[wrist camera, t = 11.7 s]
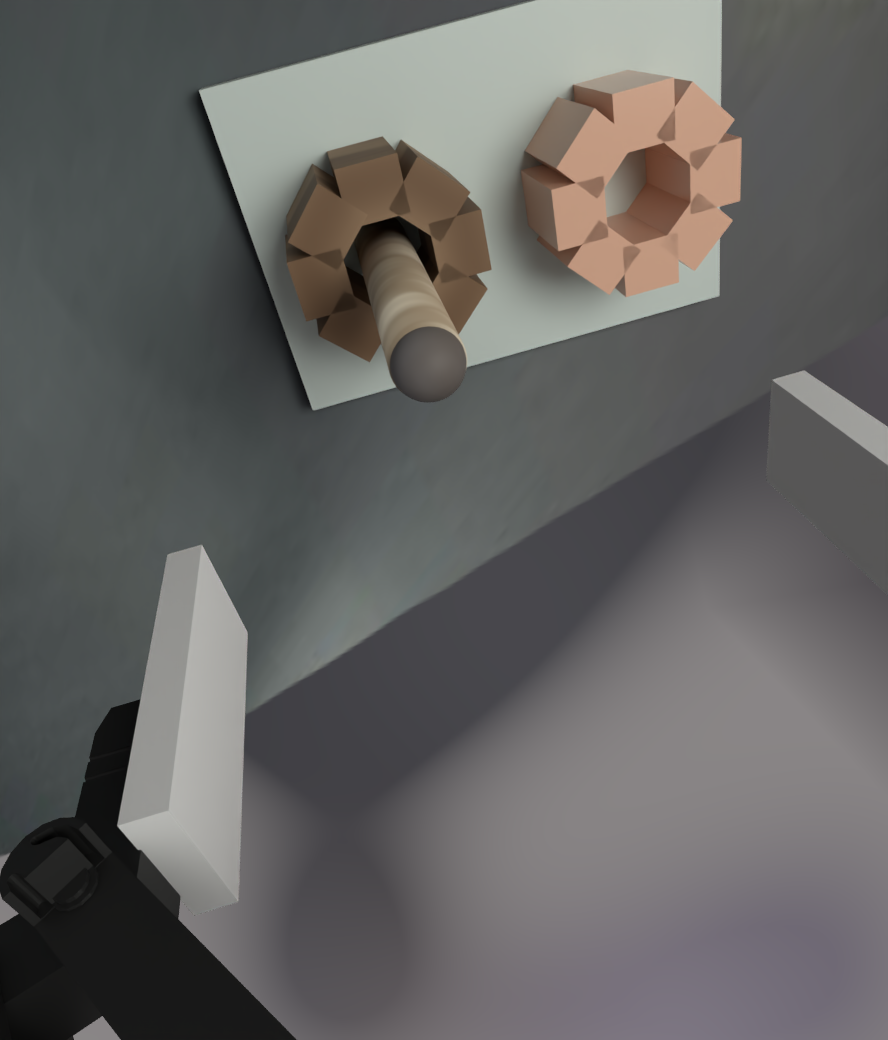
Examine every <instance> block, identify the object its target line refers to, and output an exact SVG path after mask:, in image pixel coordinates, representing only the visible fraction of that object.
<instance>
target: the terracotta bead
mask: <svg viewBox="0 0 888 1040" xmlns="http://www.w3.org/2000/svg"><path fill="white" fill-rule="evenodd" d="M573 90H574V100H575V102H573V101H569V100H566V99H563V98H559V97H557V99H556V100H555V102H554V103H553V105H552V107H551V108H550V110H549V112H548V113H547V115H546V117H545V118H544V120H543V122H542V123H541V125H540V126H539V128H538V130H537V131H536V133H535V135H534V136H533V138H532V140H531V141H530V143H529V145H528V146H527V148H526V149H525V152H527V153H528V154H530V155H531V156H532V157H534V158H535V159H536V160H538V161H539V162H540V163H542V165H538V166H534V167H531V168H527V169H523V170H521V177H522V184H523V192H524V199H525V206H526V213H527V220H528V226H529V227H530V228H531V229H533V230H534V231H535V232H536V233H537V234H539V237H538V239H537V241H538V242H540V243H541V244H542V245H543V246H544V247H545V248H546V249H548V250H549V251H550V252H551V253H552V254H553V255H555V256H556V257H557V258H558V259H559V260H560V261H561V262H563V263H564V264H565V265H566V266H567V267H569V268H570V269H572V270H573V271H575V272H576V273H578V274H579V275H581V276H582V277H584V278H585V279H586V280H588V281H589V282H591V283H592V284H594V285H595V286H597V287H598V288H600V289H601V290H603V291H604V292H606V293H607V294H609V295H610V294H611V292H612V291H613V290H614V288H615V289H617V290H618V291H619V292H620V293H621V294H623V295H624V296H625V297H629V296H632V295H636V294H639V293H643V292H646V291H650V290H654V289H657V288H661V287H664V286H668V285H671V284H675V283H678V282H679V262H681V263H682V264H684V265H686V266H687V267H689V268H690V269H692V270H694V271H695V270H696V269H697V267H698V266H699V265H700V264H701V262H702V261H703V260H704V258H705V257H706V256H707V254H708V253H709V252H710V250H711V249H712V248H713V246H714V245H715V244H716V242H717V241H718V240H719V238H720V237H721V236H722V234H723V233H724V232H725V230H726V229H727V228H728V226H729V225H730V224H731V222H732V221H733V220H732V219H730V218H729V217H728V216H727V215H726V214H724V213H723V212H722V211H721V210H719V209H718V208H717V207H720V206H723V205H727V204H730V203H734V202H738V201H740V182H741V139H742V138H741V137H738V136H734V135H730V134H726V133H725V132H726V131H727V130H728V128H729V127H730V125H731V124H732V123H733V121H734V120H735V119H734V118H733V117H731V116H730V115H729V114H728V113H727V112H726V111H725V110H724V109H723V108H721V107H720V106H719V105H718V104H717V103H716V102H715V101H714V100H713V99H712V98H710V97H709V96H708V95H707V94H706V93H705V92H704V91H703V90H702V89H700V88H699V87H698V86H697V85H696V84H695V83H694V82H693V81H687V80H681V79H675V78H674V77H669V76H663V75H657V74H651V73H645V72H639V71H633V70H625V71H621V72H617V73H614V74H610V75H606V76H603V77H599V78H595V79H592V80H588V81H584V82H581V83H577V84H573ZM643 148H645V165H646V184H645V185H644V187H643V188H642V190H641V191H640V192H639V194H638V195H637V197H636V198H635V200H634V201H633V203H632V204H631V206H630V207H629V208H628V210H627V211H626V212H624V213H621V214H617V215H613V216H610V217H607V215H606V202H605V189H604V188H605V186H606V185H607V183H608V182H609V180H610V179H611V177H612V176H613V174H614V173H615V171H616V170H617V168H618V167H619V165H620V164H621V162H622V161H623V159H624V158H625V156H626V155H627V153H629V152H633V151H636V150H640V149H643Z"/></svg>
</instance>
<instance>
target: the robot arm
mask: <svg viewBox="0 0 888 1040" xmlns="http://www.w3.org/2000/svg"><path fill="white" fill-rule="evenodd" d="M768 440H769V441H768V457H767V475H766V481H767V482H768V483H769V484H771V485H772V486H773V487H774V488H775V489H776V490H777V491H778V492H779V493H780V494H781V495H782V496H783V497H784V498H786V500H787V501H789V502H790V503H791V504H792V505H793V506H794V507H795V508H796V509H797V510H798V511H799V512H800V513H801V514H802V515H804V517H805V518H806V519H808V520H809V521H810V522H811V523H812V524H813V525H814V526H815V527H816V528H817V529H818V530H819V531H820V532H821V533H822V534H823V535H824V536H825V537H827V538H828V539H829V540H830V541H831V542H832V543H833V544H834V545H835V546H836V547H837V548H838V549H839V550H840V551H841V552H842V553H843V554H844V555H846V557H848V558H849V559H850V560H851V561H852V562H853V563H854V564H855V565H856V566H857V567H858V568H859V569H860V570H861V571H862V572H863V573H864V574H865V575H867V576H868V577H869V578H870V579H871V580H872V581H873V582H874V583H875V584H876V585H877V586H878V587H879V588H880V589H881V590H882V591H884V592H885V593H886V594H887V595H888V427H887V426H885V425H884V424H882V423H881V422H879V421H878V420H876V419H875V418H874V417H872V416H871V415H869V414H868V413H866V412H865V411H863V410H862V409H860V408H859V407H857V406H856V405H854V404H853V403H851V402H850V401H849V400H847V399H846V398H844V397H843V396H841V395H840V394H838V393H837V392H835V391H833V390H832V389H831V388H829V387H828V386H826V385H825V384H823V383H822V382H820V381H819V380H817V379H816V378H814V377H813V376H812V375H810V374H808V373H807V372H806V371H801V372H797V373H794V374H790V375H787V376H784V377H780V378H777V379H773V380H772V386H771V405H770V422H769V439H768ZM247 637H248V632H247V630H246V629H245V627H244V625H243V623H242V621H241V619H240V617H239V615H238V613H237V611H236V609H235V607H234V606H233V604H232V602H231V600H230V598H229V596H228V594H227V592H226V590H225V588H224V586H223V584H222V582H221V581H220V579H219V577H218V575H217V573H216V571H215V569H214V567H213V565H212V563H211V561H210V559H209V558H208V556H207V554H206V552H205V550H204V548H203V546H202V545H199V546H195V547H192V548H188V549H185V550H181V551H178V552H174V553H171V554H168V555H167V560H166V566H165V571H164V576H163V582H162V587H161V592H160V598H159V603H158V609H157V614H156V619H155V625H154V630H153V636H152V641H151V646H150V652H149V657H148V662H147V668H146V673H145V679H144V684H143V689H142V695H141V699H140V700H137V701H133V702H130V703H127V704H123V705H120V706H116V707H113V708H111V709H110V711H109V712H108V714H107V715H106V717H105V719H104V720H103V722H102V723H101V725H100V726H99V728H98V730H97V731H96V733H95V736H94V740H93V745H92V749H91V753H90V757H89V758H90V762H88V765H87V770H86V774H85V780H86V781H85V782H84V783H83V786H82V790H81V795H80V799H79V803H78V807H77V811H76V816H75V817H71V818H58V819H56V820H53V821H51V822H48V823H46V824H43V825H41V826H40V827H39V828H37V829H36V830H34V831H33V832H32V833H30V834H29V835H27V836H26V837H25V838H24V839H23V840H22V841H21V842H20V843H19V844H18V845H17V847H16V848H15V849H14V850H13V851H12V852H11V854H10V855H9V857H8V859H7V861H6V862H5V864H4V866H3V868H2V870H1V875H0V893H1V897H2V899H3V900H4V901H5V902H6V903H8V904H9V905H10V906H11V907H12V908H13V909H14V910H15V911H17V912H18V913H19V914H18V915H16V916H14V917H13V918H11V919H10V920H8V921H6V922H5V923H3V924H1V925H0V1040H74V1038H73V1035H75V1034H76V1033H77V1032H79V1031H80V1030H82V1029H83V1028H85V1027H86V1026H88V1025H89V1024H91V1023H92V1022H94V1021H95V1020H97V1019H98V1018H100V1017H101V1016H103V1017H104V1018H105V1020H106V1021H107V1022H108V1024H109V1025H110V1026H111V1027H112V1029H113V1030H114V1031H115V1033H116V1034H117V1035H118V1037H119V1038H120V1039H121V1040H296V1039H295V1038H294V1037H293V1036H292V1035H291V1034H290V1033H289V1032H288V1031H287V1030H286V1028H284V1026H282V1024H281V1023H280V1022H279V1021H278V1020H277V1019H276V1018H275V1017H274V1016H273V1015H272V1014H271V1013H270V1012H269V1011H268V1010H267V1009H266V1008H265V1007H264V1006H263V1005H262V1004H261V1003H260V1002H259V1001H258V1000H257V999H256V998H255V997H254V996H253V995H252V994H251V993H250V992H249V991H248V990H247V989H246V988H245V987H244V986H243V985H242V984H241V983H240V982H239V981H238V980H237V979H236V978H235V977H234V976H233V975H232V974H231V973H230V972H229V971H228V970H227V968H225V967H224V965H223V964H222V963H221V962H220V961H218V959H217V958H216V957H215V956H214V955H213V954H212V953H211V952H210V951H209V950H208V949H207V948H206V947H205V946H204V945H203V944H202V943H201V942H200V941H199V940H198V939H197V938H196V937H195V936H194V935H193V934H192V933H191V932H190V931H189V930H188V929H187V928H186V927H185V926H184V925H183V924H182V923H181V922H180V921H179V920H178V915H179V906H180V900H181V901H182V902H183V903H184V905H185V906H186V907H187V908H188V909H189V910H190V911H191V913H192V914H193V915H198V914H201V913H204V912H207V911H211V910H214V909H217V908H220V907H224V906H227V905H230V904H233V903H237V902H238V901H239V872H240V841H241V813H242V784H243V754H244V725H245V696H246V666H247Z"/></svg>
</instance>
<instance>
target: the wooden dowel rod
mask: <svg viewBox="0 0 888 1040" xmlns="http://www.w3.org/2000/svg"><path fill="white" fill-rule="evenodd" d="M355 247H356V250H357V254H358V258H359V262H360V265H361V269H362V273H363V276H364V280H365V284H366V288H367V291H368V295H369V299H370V303H371V306H372V310H373V314H374V317H375V321H376V325H377V329H378V332H379V336H380V340H381V343H382V347H383V351H384V355H385V358H386V362H387V366H388V370H389V373H390V376H391V379H392V381H393V383H394V384H395V386H396V387H397V388H398V389H399V390H400V391H401V392H402V393H404V394H405V395H406V396H408V397H410V398H412V399H414V400H416V401H420V402H436V401H440V400H443V399H445V398H447V397H448V396H450V395H451V394H453V393H454V392H455V391H456V390H457V389H458V387H459V386H460V384H461V383H462V381H463V378H464V376H465V372H466V368H467V353H466V349H465V347H464V344H463V342H462V340H461V338H460V336H459V335H458V333H457V331H456V329H455V327H454V325H453V323H452V321H451V319H450V317H449V315H448V313H447V311H446V309H445V307H444V305H443V303H442V301H441V299H440V298H439V296H438V294H437V292H436V290H435V288H434V286H433V284H432V282H431V280H430V278H429V276H428V274H427V272H426V270H425V268H424V266H423V264H422V262H421V260H420V259H419V257H418V255H417V253H416V251H415V249H414V247H413V245H412V243H411V241H410V239H409V237H408V235H407V233H406V231H405V229H404V227H403V226H402V224H401V223H400V221H399V220H398V219H396V218H395V217H392V218H389V219H385V220H382V221H378V222H374V223H371V224H367V225H363V226H362V227H361V228H360V230H359V232H358V234H357V236H356V238H355Z"/></svg>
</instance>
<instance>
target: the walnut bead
mask: <svg viewBox="0 0 888 1040" xmlns="http://www.w3.org/2000/svg"><path fill="white" fill-rule="evenodd" d="M327 154H328V158H329V161H330V165H331V169H332V172H333V176H334V177H333V176H331V175H330V174H328V173H326V172H325V171H323V170H322V169H320V168H318V167H317V166H315V165H314V164H312V165H311V167H310V169H309V171H308V173H307V175H306V177H305V179H304V181H303V183H302V185H301V187H300V189H299V191H298V193H297V195H296V197H295V199H294V201H293V203H292V205H291V208H290V210H289V212H288V214H287V216H286V220H287V234H286V235H285V242H286V262H287V266H288V269H289V272H290V275H291V278H292V281H293V284H294V287H295V290H296V293H297V295H298V298H299V301H300V304H301V307H302V310H303V313H304V316H305V319H306V321H310V320H314V319H316V320H317V327H318V334H319V336H320V337H322V338H323V339H325V340H327V341H329V342H331V343H333V344H335V345H337V346H339V347H341V348H343V349H345V350H347V351H349V352H350V353H352V354H354V355H356V356H358V357H360V358H362V359H364V360H366V361H368V362H370V361H371V359H372V358H373V356H374V354H375V353H376V351H377V349H378V348H379V346H380V344H381V345H382V343H381V340H380V336H379V332H378V329H377V325H376V321H375V317H374V314H373V310H372V306H371V303H370V299H369V295H368V291H367V288H366V284H365V280H364V276H362V275H361V274H359V273H357V272H355V271H354V270H352V269H350V268H348V267H347V266H345V263H344V258H345V256H346V254H347V253H348V251H349V249H350V247H351V245H352V243H353V241H354V240H355V238H356V236H357V234H358V232H359V230H360V228H361V227H362V226H363V225H367V224H371V223H374V222H378V221H382V220H385V219H389V218H392V217H396V216H400V217H402V218H403V219H405V220H407V221H408V222H410V223H411V224H413V225H415V226H416V227H417V228H418V232H419V237H420V241H421V246H420V248H419V249H418V251H417V255H418V257H419V259H420V260H421V262H422V264H423V266H424V268H425V270H426V272H427V274H428V276H429V278H430V280H431V282H432V284H433V286H434V288H435V290H436V292H437V294H438V296H439V298H440V299H441V301H442V303H443V305H444V307H445V309H446V311H447V313H448V315H449V317H450V319H451V321H452V323H453V325H454V327H455V329H456V331H457V333H458V335H459V333H460V332H461V330H462V329H463V327H464V326H465V324H466V322H467V321H468V319H469V318H470V316H471V315H472V313H473V311H474V310H475V308H476V307H477V305H478V304H479V302H480V300H481V299H482V297H483V296H484V294H485V293H486V291H487V289H488V288H487V287H486V286H485V285H484V283H483V282H482V281H481V279H480V278H479V277H478V275H477V274H479V273H482V272H486V271H490V270H492V268H491V263H490V257H489V251H488V245H487V240H486V234H485V228H484V222H483V217H482V211H481V209H480V208H479V207H478V206H477V205H476V204H475V203H474V202H473V201H472V200H471V199H470V198H469V197H468V195H469V194H470V191H469V190H468V189H467V188H465V187H464V186H463V185H462V184H461V183H460V182H459V181H458V180H457V179H456V178H455V177H453V176H452V175H451V174H450V173H449V172H448V171H446V170H445V169H444V168H442V167H441V166H439V165H438V164H436V163H435V162H433V161H432V160H430V159H429V158H427V157H426V156H424V155H423V154H422V153H420V152H419V151H417V150H416V149H414V148H413V147H411V146H410V145H408V144H407V143H405V142H404V141H403V140H400V142H399V144H398V146H397V148H396V150H394V149H393V148H392V146H391V145H390V144H389V143H388V142H387V141H386V140H385V138H384V137H383V136H382V137H378V138H374V139H370V140H367V141H363V142H359V143H356V144H352V145H348V146H345V147H341V148H337V149H334V150H330V151H327ZM382 348H383V347H382Z"/></svg>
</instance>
